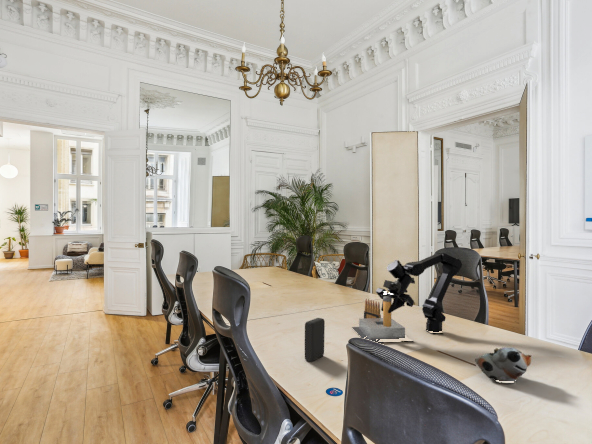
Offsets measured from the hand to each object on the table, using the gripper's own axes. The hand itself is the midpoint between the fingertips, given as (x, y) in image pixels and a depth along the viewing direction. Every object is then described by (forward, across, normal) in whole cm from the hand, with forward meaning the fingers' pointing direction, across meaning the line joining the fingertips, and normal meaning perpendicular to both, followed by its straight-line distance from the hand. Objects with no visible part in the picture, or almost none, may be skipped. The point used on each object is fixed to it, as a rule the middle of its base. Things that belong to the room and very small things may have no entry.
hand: (385, 311), depth 153 cm
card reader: (+37, -1, -18) cm, 41 cm away
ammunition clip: (-2, -24, +21) cm, 32 cm away
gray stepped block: (+6, -7, +13) cm, 16 cm away
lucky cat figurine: (+4, +47, +16) cm, 49 cm away
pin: (+4, 0, +6) cm, 7 cm away
